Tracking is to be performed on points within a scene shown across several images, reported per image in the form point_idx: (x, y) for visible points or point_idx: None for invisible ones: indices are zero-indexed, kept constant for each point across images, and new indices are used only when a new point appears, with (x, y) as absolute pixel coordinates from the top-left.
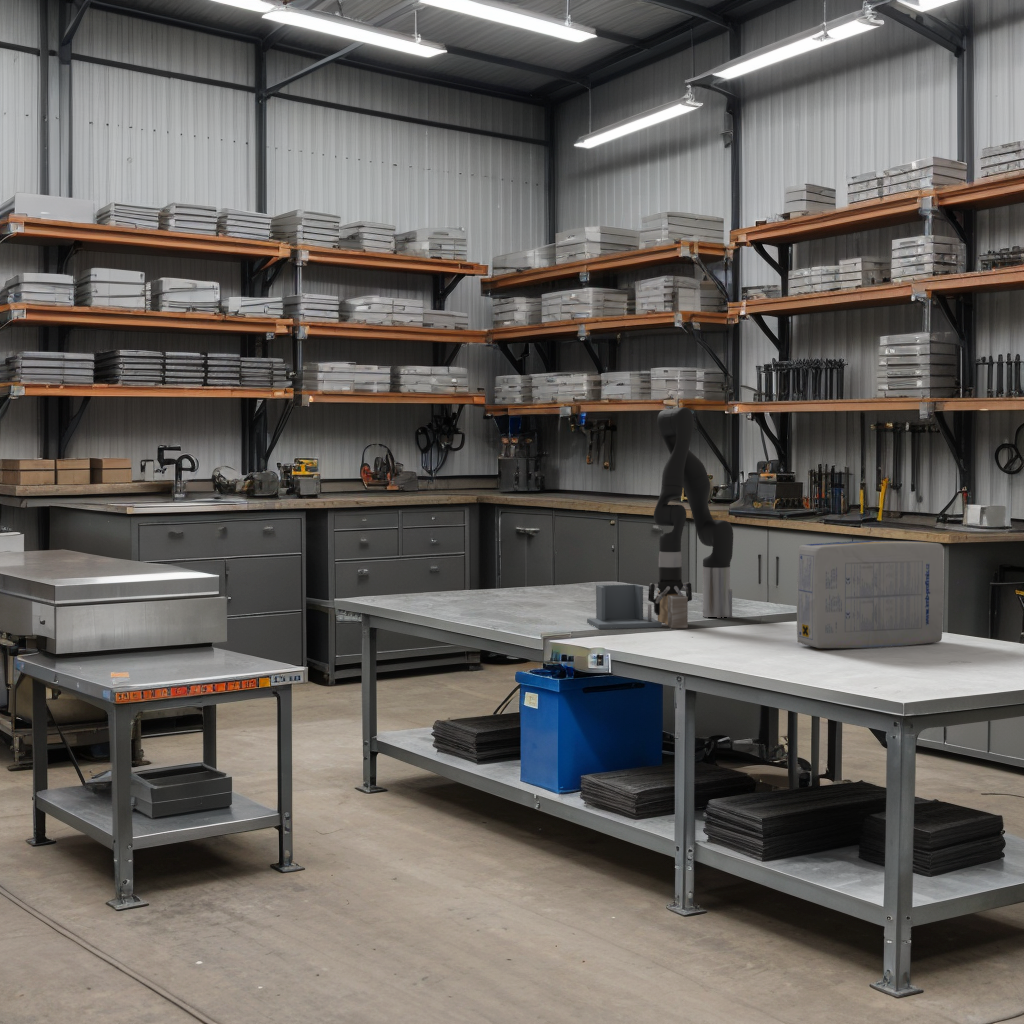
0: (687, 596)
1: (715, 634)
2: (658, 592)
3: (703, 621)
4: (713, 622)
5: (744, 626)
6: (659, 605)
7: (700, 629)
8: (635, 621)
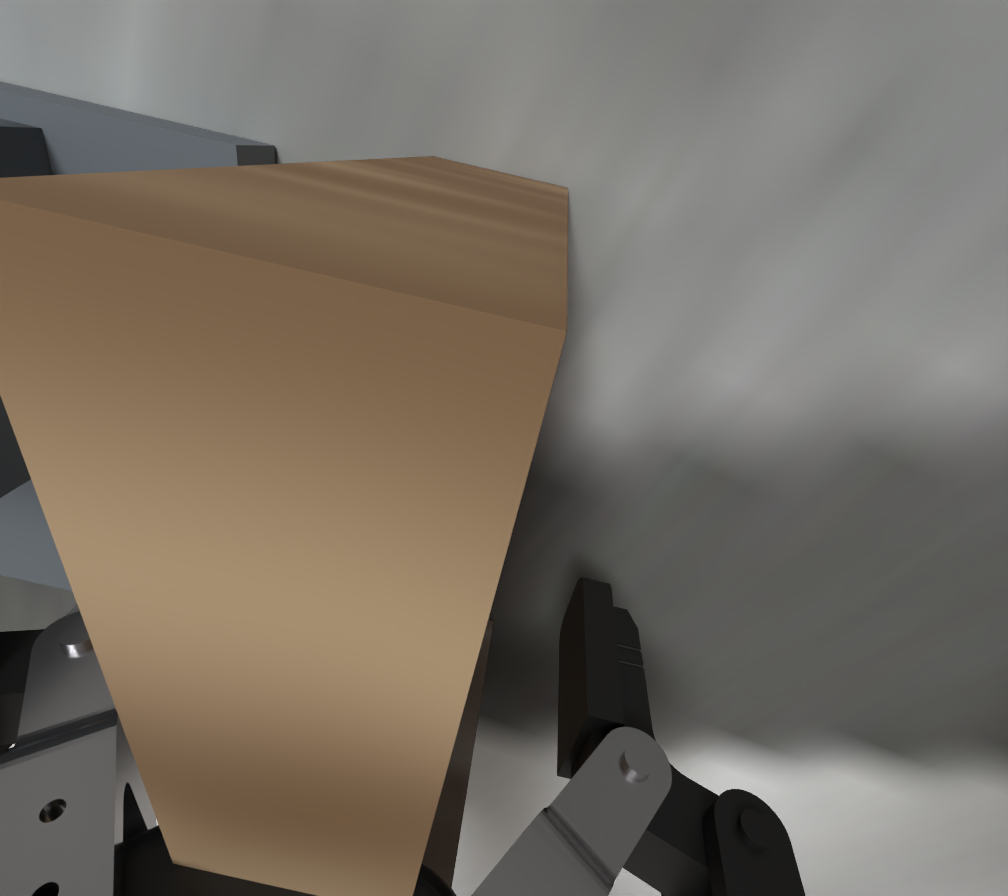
0: (731, 889)
1: (489, 868)
2: (52, 338)
3: (926, 487)
4: (936, 586)
5: (908, 805)
6: None
7: (519, 763)
8: (22, 491)
